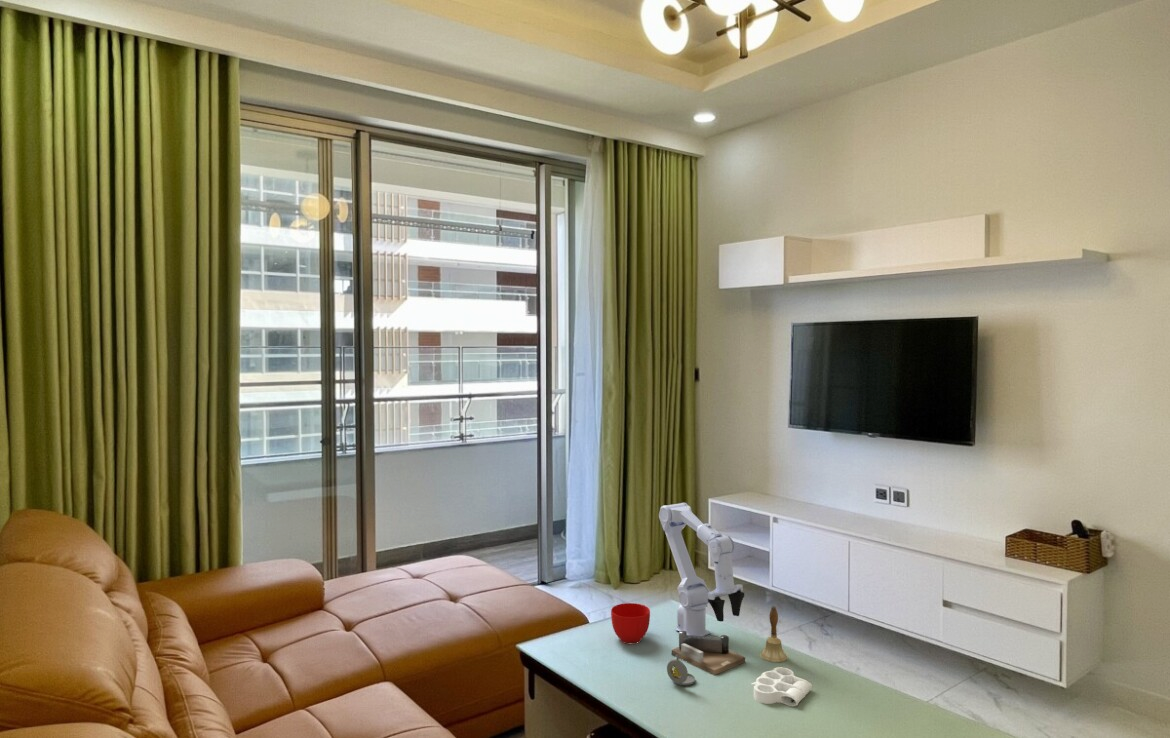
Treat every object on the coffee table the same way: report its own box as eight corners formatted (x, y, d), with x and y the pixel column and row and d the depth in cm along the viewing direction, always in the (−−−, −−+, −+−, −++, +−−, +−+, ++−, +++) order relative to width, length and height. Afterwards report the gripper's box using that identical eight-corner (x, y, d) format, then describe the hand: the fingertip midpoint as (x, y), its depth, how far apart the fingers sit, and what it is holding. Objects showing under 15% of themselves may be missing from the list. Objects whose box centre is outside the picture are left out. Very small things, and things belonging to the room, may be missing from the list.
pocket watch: (694, 676, 210) (694, 643, 209) (696, 690, 201) (696, 655, 201) (666, 675, 210) (666, 642, 210) (667, 689, 202) (667, 654, 202)
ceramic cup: (662, 633, 241) (661, 604, 241) (638, 651, 227) (638, 620, 226) (628, 625, 248) (628, 596, 247) (603, 642, 234) (603, 612, 233)
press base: (671, 654, 224) (671, 640, 224) (702, 642, 233) (702, 629, 233) (714, 675, 210) (714, 660, 210) (745, 662, 219) (745, 647, 219)
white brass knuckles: (792, 714, 189) (741, 697, 198) (816, 688, 203) (768, 673, 212) (792, 702, 189) (741, 685, 198) (816, 676, 203) (768, 662, 212)
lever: (678, 649, 224) (678, 633, 223) (679, 646, 226) (679, 630, 226) (728, 654, 220) (728, 637, 220) (728, 650, 223) (728, 634, 223)
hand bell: (790, 662, 218) (790, 611, 218) (763, 662, 218) (763, 611, 218) (783, 650, 227) (783, 601, 226) (757, 650, 227) (757, 601, 226)
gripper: (718, 580, 220) (722, 625, 218) (748, 571, 228) (752, 615, 227) (701, 578, 225) (705, 621, 224) (731, 569, 234) (735, 612, 233)
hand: (728, 618), depth 226 cm, fingers open, 7 cm apart
